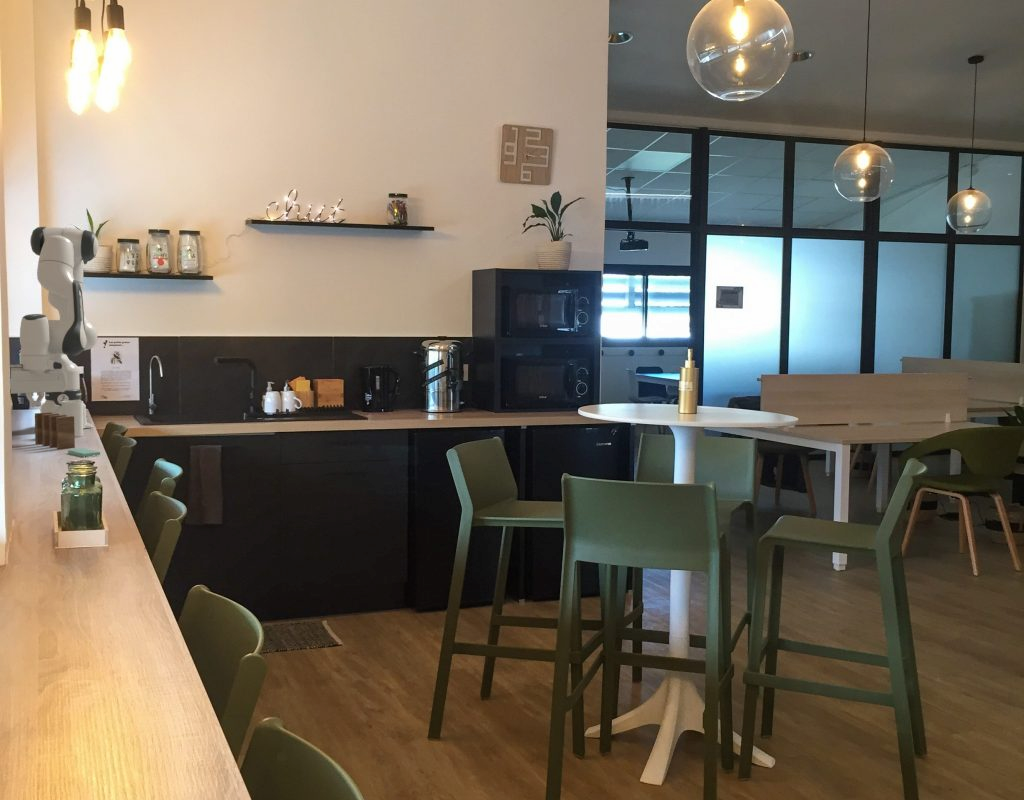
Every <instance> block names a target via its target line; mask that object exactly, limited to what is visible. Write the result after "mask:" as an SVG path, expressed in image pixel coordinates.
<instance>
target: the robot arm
mask: <svg viewBox="0 0 1024 800" xmlns="http://www.w3.org/2000/svg"><path fill="white" fill-rule="evenodd" d="M29 241H30V247H31V251H32V253H34V254H35V255H37V256H39V258H38V261H37V269H36V276H37V277H36V278H37V281H38V282H39V284H40V286H42V287H43V288H44V289H45V290H46V291H48V294H47V300H48V303H49V304H50V306H51V307H53V308H54V309H55V310H57V312H58V315H59V319H48V316H47V315H46V314H41V313H33V314H32V313H31V314H25V315H24V316H22V317H21V321H20V328H19V343H20V352H19V363H18V364H9V365H10V367H11V379H10V389H11V394H14V395H15V394H25V397H26V399H27V400H28V402H29V407H30V408H31V407H32V408H33V407H34V408H35V407H40V411H39V413H47V412H51V413H52V411H53V409H54V406H55V405H59V406H62V401H68V400H80V401H82V400H81V399H82V389H81V387H80V386H81V385H80V381H81V380H80V368H79V367H78V365H77V364H76V363H74V362H73V361H71V360H70V359H69V357H68V356H78V355H80V354H81V353H82V352H83V351H87V350H92V349H93V348H94V347H95V345H96V344H97V341H98V331H97V329H96V327H95V326H94V324H92V323H91V322H90V320H88V317H86V314H85V311H84V301H83V300H84V299H83V290H84V289H83V287H84V265H87V264H88V262H90V261H92V260H93V259H94V258H96V256H97V254H98V251H99V246H100V245H99V241H98V236H97V234H96V233H94V232H93V231H90V230H87V229H85V230H82V229H77V228H72V227H49V226H48V227H47V226H38V227H36V228H35V229H33V230H32V232H31V235H30V240H29ZM83 264H84V265H83ZM11 394H10V395H11ZM34 394H36V396H38V397H37V398H36V400H34V398H33V397H34ZM43 399H45V401H44V403H43V404H42V401H43ZM86 407H87V406H86V404H85V403H84V402H83V429H90V428H93V424H91V423H89V422H87V417H88V416H87V408H86ZM56 413H57V414H59V415H62V410H61V409H58V410H57V411H56V412H55V414H56Z"/></svg>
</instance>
